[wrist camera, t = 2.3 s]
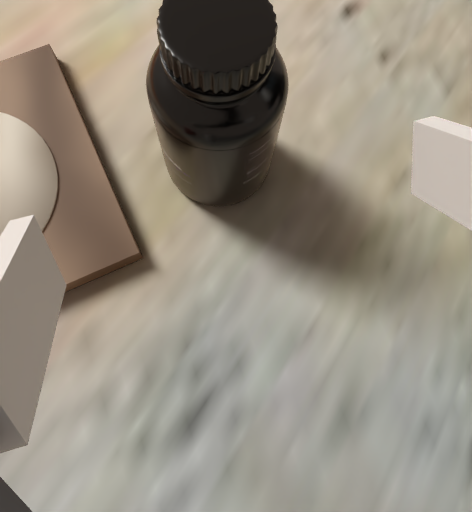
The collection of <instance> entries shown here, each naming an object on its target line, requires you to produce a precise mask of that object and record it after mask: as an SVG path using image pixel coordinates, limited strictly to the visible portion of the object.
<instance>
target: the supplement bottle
mask: <svg viewBox="0 0 472 512" xmlns="http://www.w3.org/2000/svg"><path fill="white" fill-rule="evenodd" d="M157 27H158V29H157V34H158V40H159V46H158V47H157V49H156V50H155V52H154V54H153V56H152V58H151V61H150V63H149V66H148V70H147V77H146V87H147V95H148V100H149V104H150V108H151V112H152V115H153V119H154V123H155V126H156V130H157V134H158V137H159V141H160V145H161V148H162V152H163V156H164V159H165V163H166V166H167V169H168V172H169V174H170V177H171V179H172V180H173V182H174V184H175V185H176V186H177V187H178V189H179V190H180V191H181V192H182V193H184V194H185V195H186V196H188V197H189V198H191V199H193V200H195V201H197V202H199V203H202V204H206V205H211V206H226V205H231V204H235V203H238V202H240V201H242V200H244V199H246V198H248V197H249V196H251V195H252V194H253V193H254V192H255V191H256V190H257V189H258V188H259V187H260V186H261V185H262V183H263V182H264V180H265V178H266V176H267V173H268V170H269V167H270V164H271V160H272V156H273V152H274V148H275V144H276V140H277V137H278V133H279V129H280V125H281V121H282V117H283V113H284V109H285V105H286V100H287V94H288V75H287V70H286V66H285V63H284V61H283V58H282V56H281V55H280V53H279V51H278V49H277V48H276V44H275V43H276V34H277V23H276V14H275V13H274V12H273V5H272V4H271V3H270V2H269V1H268V0H163V5H162V6H161V7H160V9H159V16H158V18H157Z"/></svg>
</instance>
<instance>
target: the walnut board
mask: <svg viewBox="0 0 472 512" xmlns="http://www.w3.org/2000/svg"><path fill="white" fill-rule="evenodd" d="M30 215H34V216H35V218H36V220H37V222H38V224H39V227H40V229H41V231H42V233H43V235H44V237H45V240H46V242H47V244H48V246H49V248H50V250H51V252H52V255H53V257H54V259H55V261H56V263H57V265H58V268H59V270H60V272H61V274H62V276H63V278H64V280H65V283H66V289H65V292H67V291H69V290H71V289H74V288H76V287H78V286H80V285H83V284H85V283H87V282H90V281H92V280H94V279H96V278H99V277H101V276H103V275H106V274H108V273H110V272H112V271H115V270H117V269H119V268H122V267H124V266H126V265H128V264H131V263H133V262H135V261H138V260H140V259H142V258H143V256H142V254H141V252H140V250H139V247H138V245H137V243H136V240H135V238H134V236H133V233H132V231H131V229H130V226H129V224H128V222H127V219H126V217H125V215H124V212H123V210H122V208H121V206H120V203H119V201H118V199H117V196H116V194H115V192H114V189H113V187H112V185H111V182H110V180H109V178H108V175H107V173H106V171H105V169H104V166H103V164H102V162H101V159H100V157H99V155H98V152H97V150H96V148H95V145H94V143H93V141H92V138H91V136H90V134H89V131H88V129H87V127H86V125H85V122H84V120H83V118H82V115H81V113H80V111H79V108H78V106H77V104H76V101H75V99H74V97H73V94H72V92H71V90H70V88H69V85H68V83H67V81H66V78H65V76H64V74H63V71H62V69H61V67H60V64H59V62H58V60H57V57H56V56H55V54H54V52H53V50H52V48H51V46H50V45H49V44H48V45H45V46H42V47H40V48H37V49H34V50H31V51H28V52H25V53H23V54H20V55H17V56H14V57H11V58H9V59H6V60H3V61H0V236H1V234H2V232H3V231H4V229H5V227H6V226H7V224H8V222H9V221H10V220H14V219H18V218H22V217H26V216H30Z"/></svg>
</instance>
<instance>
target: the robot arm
mask: <svg viewBox="0 0 472 512" xmlns="http://www.w3.org/2000/svg"><path fill="white" fill-rule="evenodd" d="M411 194H413V195H414V196H416V197H417V198H419V199H421V200H422V201H424V202H426V203H427V204H429V205H431V206H432V207H434V208H435V209H437V210H439V211H440V212H442V213H444V214H445V215H447V216H449V217H450V218H452V219H454V220H455V221H457V222H458V223H460V224H462V225H463V226H465V227H467V228H468V229H470V230H472V128H471V127H468V126H465V125H462V124H458V123H455V122H452V121H449V120H445V119H442V118H439V117H436V116H431V117H427V118H423V119H419V120H415V121H413V150H412V180H411ZM65 289H66V283H65V280H64V278H63V276H62V274H61V272H60V270H59V268H58V265H57V263H56V261H55V259H54V257H53V255H52V252H51V250H50V248H49V246H48V244H47V242H46V240H45V237H44V235H43V233H42V231H41V229H40V227H39V224H38V222H37V220H36V218H35V216H34V215H30V216H26V217H22V218H18V219H14V220H10V221H9V222H8V224H7V226H6V227H5V229H4V231H3V232H2V234H1V236H0V453H2V452H6V451H9V450H12V449H16V448H19V447H22V446H26V445H28V441H29V437H30V433H31V428H32V424H33V420H34V416H35V412H36V408H37V404H38V400H39V396H40V391H41V387H42V383H43V379H44V375H45V371H46V367H47V363H48V359H49V355H50V350H51V346H52V342H53V338H54V334H55V330H56V326H57V322H58V318H59V314H60V309H61V305H62V301H63V297H64V293H65ZM0 512H32V511H31V510H30V509H29V508H28V507H27V505H26V504H25V503H24V502H23V501H22V500H21V499H20V498H19V497H18V496H17V495H16V494H15V492H14V491H13V490H12V489H11V488H10V487H9V486H8V485H7V484H6V483H5V482H4V480H3V479H2V478H1V477H0Z"/></svg>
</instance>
